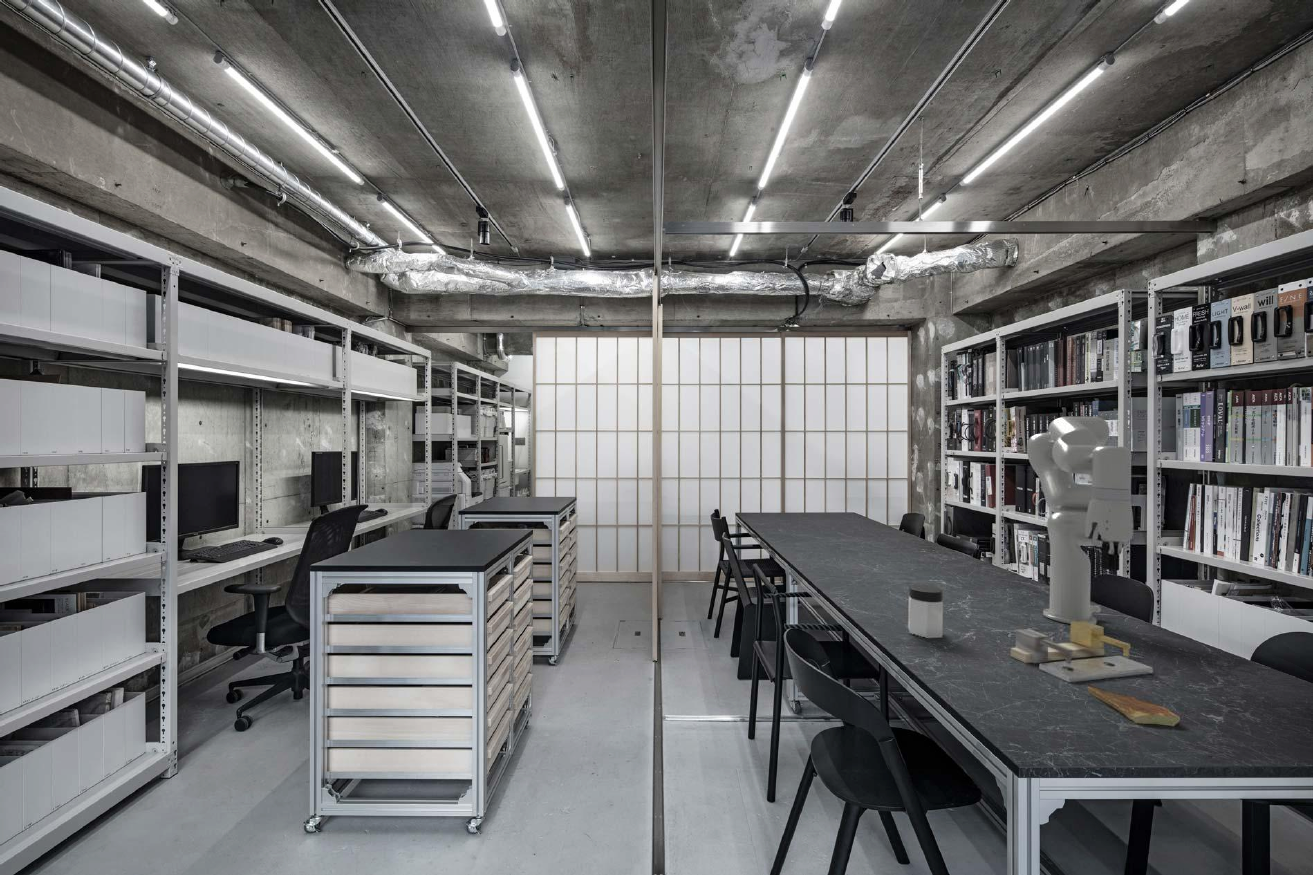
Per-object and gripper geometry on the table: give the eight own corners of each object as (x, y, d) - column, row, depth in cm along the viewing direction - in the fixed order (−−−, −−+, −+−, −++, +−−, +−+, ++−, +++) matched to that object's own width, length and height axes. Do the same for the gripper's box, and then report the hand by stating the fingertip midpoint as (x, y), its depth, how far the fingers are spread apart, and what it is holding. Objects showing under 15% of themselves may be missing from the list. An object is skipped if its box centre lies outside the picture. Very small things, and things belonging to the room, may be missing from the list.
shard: (1085, 693, 114) (1086, 682, 114) (1134, 696, 113) (1135, 686, 113) (1132, 725, 101) (1132, 713, 101) (1188, 729, 100) (1188, 717, 100)
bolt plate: (1119, 660, 131) (1119, 655, 131) (1152, 672, 124) (1152, 667, 124) (1039, 668, 125) (1039, 663, 125) (1069, 682, 118) (1069, 676, 118)
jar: (948, 634, 147) (949, 589, 147) (935, 641, 141) (936, 594, 142) (915, 625, 154) (916, 582, 154) (901, 631, 148) (901, 586, 148)
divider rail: (1085, 648, 139) (1086, 624, 139) (1137, 667, 127) (1138, 641, 127) (1008, 655, 133) (1009, 630, 133) (1056, 676, 121) (1056, 649, 121)
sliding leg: (1082, 639, 138) (1083, 620, 139) (1134, 658, 127) (1135, 637, 127) (1070, 640, 138) (1070, 621, 138) (1121, 659, 126) (1122, 638, 126)
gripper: (1117, 494, 143) (1116, 565, 143) (1072, 494, 139) (1071, 566, 139) (1150, 497, 136) (1149, 571, 135) (1103, 497, 132) (1102, 573, 132)
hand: (1109, 569), depth 137 cm, fingers closed
